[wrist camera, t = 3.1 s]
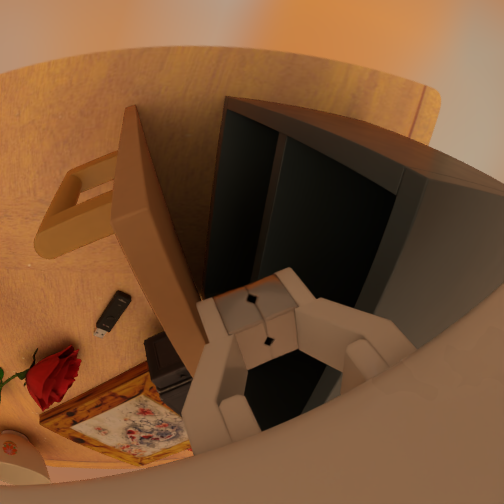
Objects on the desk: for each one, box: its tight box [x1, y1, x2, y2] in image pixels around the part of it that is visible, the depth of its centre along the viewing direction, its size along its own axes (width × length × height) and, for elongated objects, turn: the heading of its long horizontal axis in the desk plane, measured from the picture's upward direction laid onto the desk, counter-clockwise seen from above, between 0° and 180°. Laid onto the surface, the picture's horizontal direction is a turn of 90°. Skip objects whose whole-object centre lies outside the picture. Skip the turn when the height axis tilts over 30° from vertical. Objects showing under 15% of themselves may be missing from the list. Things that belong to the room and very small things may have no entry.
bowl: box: [0, 430, 51, 485], centre depth 39 cm, size 16×16×10 cm
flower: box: [0, 345, 81, 411], centre depth 32 cm, size 9×9×30 cm
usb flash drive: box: [93, 291, 131, 338], centre depth 36 cm, size 8×2×1 cm, turn 136°
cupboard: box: [201, 96, 504, 431], centre depth 28 cm, size 18×24×24 cm
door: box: [34, 105, 209, 378], centre depth 23 cm, size 7×24×24 cm, turn 10°
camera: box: [144, 331, 193, 418], centre depth 40 cm, size 11×11×15 cm
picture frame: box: [39, 361, 191, 467], centre depth 51 cm, size 27×2×30 cm
